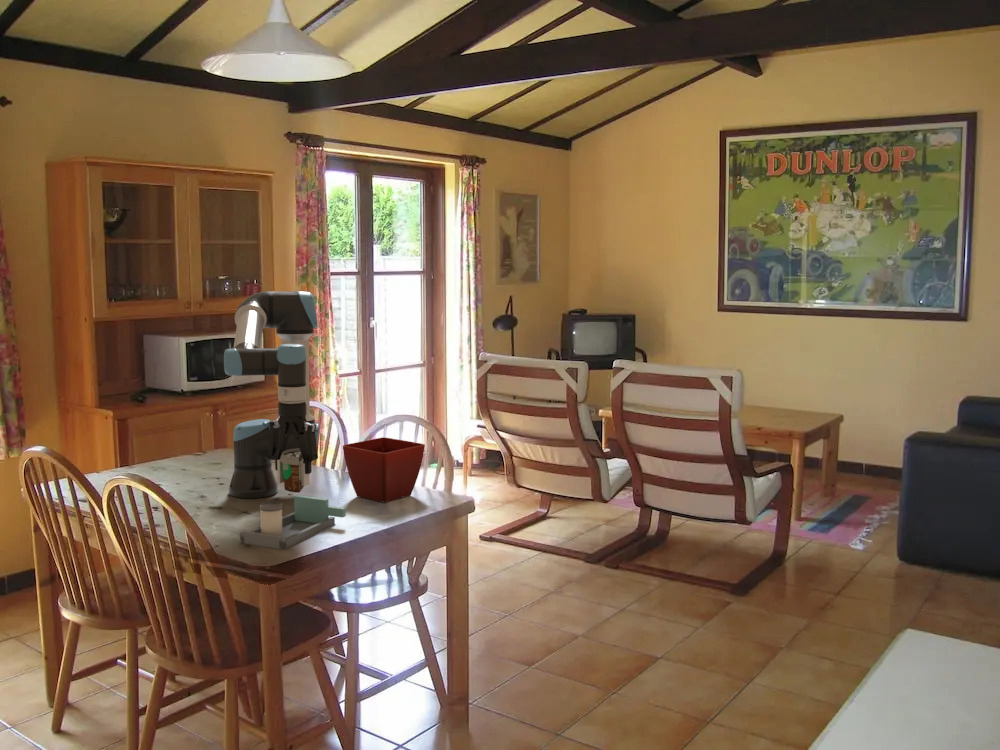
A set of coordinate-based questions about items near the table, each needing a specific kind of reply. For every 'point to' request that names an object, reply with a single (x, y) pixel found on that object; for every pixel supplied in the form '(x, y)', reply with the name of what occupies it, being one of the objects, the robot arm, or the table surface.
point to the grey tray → (286, 533)
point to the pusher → (315, 509)
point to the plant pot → (383, 467)
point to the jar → (271, 518)
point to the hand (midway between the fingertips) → (293, 483)
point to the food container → (292, 469)
